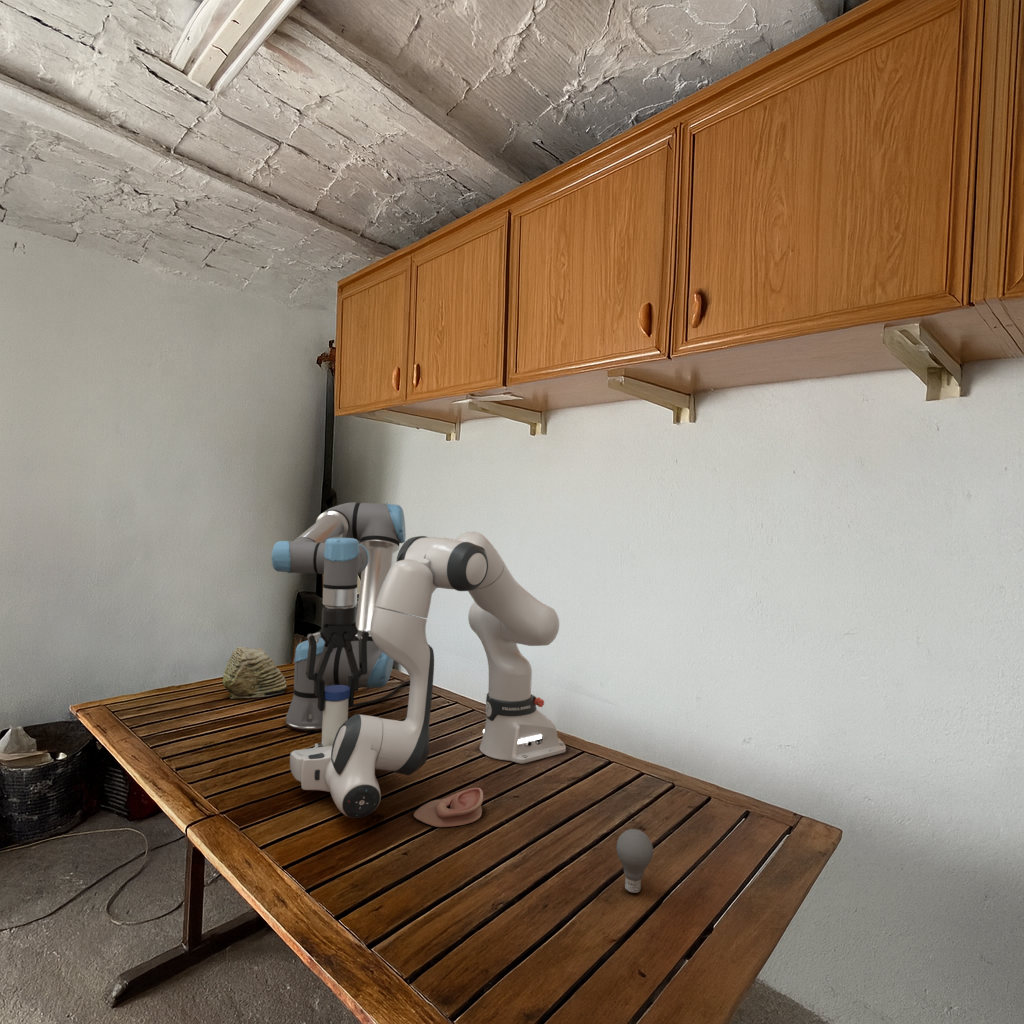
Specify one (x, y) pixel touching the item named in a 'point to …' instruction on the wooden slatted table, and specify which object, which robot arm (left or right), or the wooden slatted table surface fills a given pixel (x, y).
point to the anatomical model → (452, 809)
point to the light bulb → (634, 857)
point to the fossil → (252, 674)
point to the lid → (336, 692)
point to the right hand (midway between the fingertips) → (333, 744)
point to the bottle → (333, 719)
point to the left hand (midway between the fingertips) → (335, 707)
